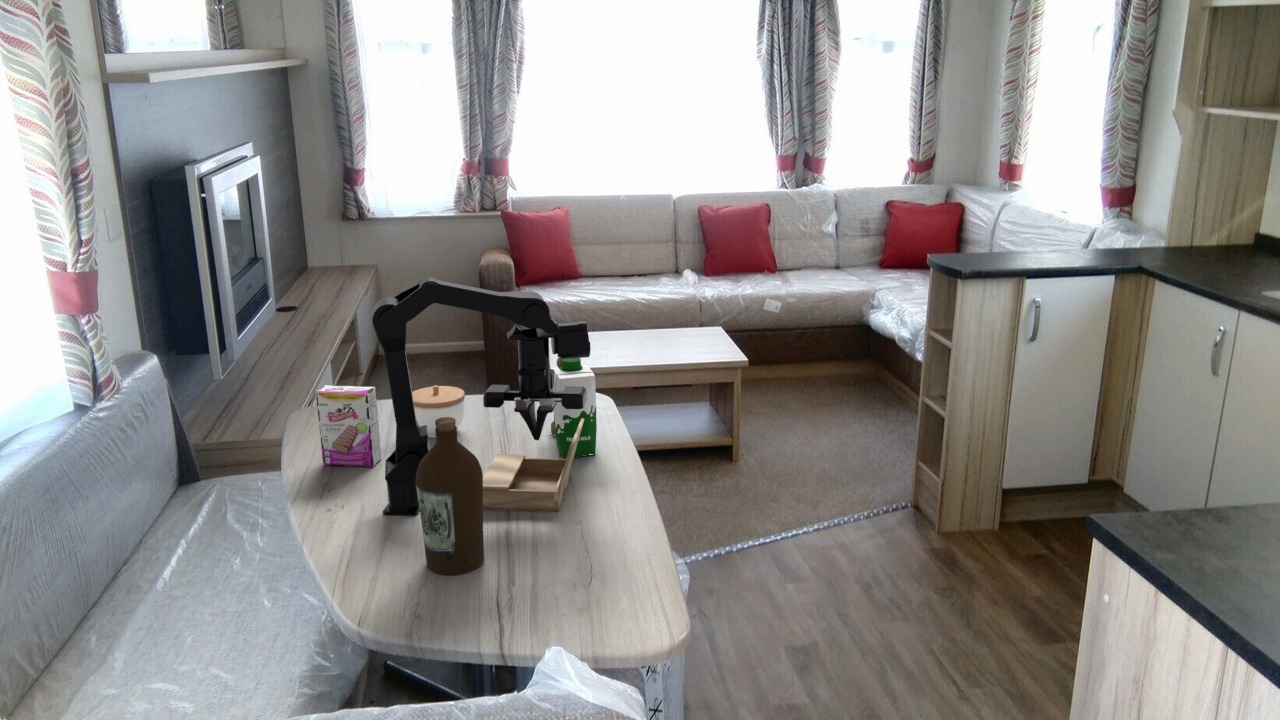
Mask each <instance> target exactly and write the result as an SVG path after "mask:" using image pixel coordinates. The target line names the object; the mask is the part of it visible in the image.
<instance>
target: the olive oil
mask: <svg viewBox="0 0 1280 720" xmlns="http://www.w3.org/2000/svg"><path fill="white" fill-rule="evenodd" d="M455 424H456V420H455V419H454V418H452V417H442V418H439V419H437V420H436V421H435V425H436V428H435V434H436V438H435V441H436V442H435V443H434V444H433V446H432V447H430V451H429V452H428V453H427V454H426V455H425V456H424V457H423V459H422V460H421V461H420V463H419V465H418V469H417V473H416V489H417V494H418V501H419V508H420V511H419V513H420V521H421V529H422V535H423V536H422V537H423V543H424V551H425V552H424V553H425V554H424V555H425V562H426V566H427V569H429V570H430V571H432V572H433V573H435V574H439V575H443V576H454V575H455V576H456V575H462V574H466V573H469V572H472V571H475V570H476V569H478V568H479V567H480V566H481V565H482V564H483V562H484V560H485V552H484V551H485V550H484V548H485V547H484V543H485V542H484V510H483V475H484V474H483V470H482V466H481V464H480V461H479V460H478V458H477V456H476V455H475V454H474V453H472V452H471V450H469V449H468V448H466V446H464V445H463V444H462V443H461V442H459V440H458V428H457V427H456V426H455Z"/></svg>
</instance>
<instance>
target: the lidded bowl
mask: <svg viewBox="0 0 1280 720" xmlns="http://www.w3.org/2000/svg"><path fill="white" fill-rule="evenodd" d="M412 395H413V402H414V408H415V415H416V419H417V421H418V424H419V426H420V427H421V426H424V425H427V431H428V438H433V439H434V438H435V439H436V434H435V428H436V425H435V421H436V420H437V419H439V418H442V417H452V418H454V419H455V420H456V424H455V426H456V427H457V429H458V428H459V426H461V424H462V422H463V419H464V416H465V409H466V407H465V406H466V403H465V398H466V393H465V391H464V390H463V389H462V388H459V387H456V386H450V385H449V386H448V385H433V386H427V387H422V388H418V389H416V390H412Z"/></svg>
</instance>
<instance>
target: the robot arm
mask: <svg viewBox="0 0 1280 720" xmlns="http://www.w3.org/2000/svg"><path fill="white" fill-rule="evenodd" d="M433 304H438V305H443V306H448V307H454V308H459V309H463V310H464V309H465V310H469V311H474V312H480V313H485V314H490V315H496V316H498V317H501V318H503V319H506V320H507V321H510V322H512V323H514V325H513V326H512V328H511V329H510V330H509V331H508V332H507V333H506V336H507V338H508V340H509V341H513V342H514V341H517V354H518V368H517V381H519V390H511V385H509V384H491V385H490V386H489V387H488V388H487V389H486V391H485V392H484V393H483V399H482V400H483V407H484V408H494V409H497V408H501V407H502V406H503V405H504V404H505V402H514V405H515V407H514V408H513V412H515V413H518V414H519V415H520V416H521V418H522V419H523V421H524V422H525V424H526V425H527V427H528V429H529V432H530V433H531V435H532V438H533V440H534V441H539V440H540V438H541V437H542V436H541V435H542V431H543V428H544V426H545V421H546V419H547V416H548V414H553V413H554V409H555V407H556V405H557V402H562V406H563V407H564V408H565V409H583V407H584V405H585V403H586V400H587V391H586V389H585V388H584V387H583V386H566V387H565V389H564V391H563V392H553V391H551V390H553V386H554V370H553V368H552V369H551V364H550V363H551V362H550V346H551V351H552V355H556V356H557V359H558V358H559V359H571V358H580V359H581V358H590V355H591V341H590V338H589V337H590V336H589V331H588V324H587V322H586V321H584V320H577V321H575V322H564V323H561V322H560V323H558V321H557V320H556V319H555V317H552V316H551V315H550V307H549V306H548V304H547V302H546V301H545V299H544V298H543V296H542V295H540V293H538V292H535V291H525V290H524V291H521V290H520V291H519V290H518V291H517V290H516V291H495V290H491V289H490V290H489V289H486V288H485V289H484V288H481V287H475V286H469V285H466V284H465V285H464V284H460V283H454V282H451V281H444V280H439V279H437V278H435V277H430V276H429V277H425V278H423V279H422V280H421V281H419V282H418V283H416V284H415V285H413V286H411V287H408V288H407V289H405V290H403V291H401V292H399V293H398V294H396V295H395V296H393V297H392V296H391V297H390V296H386V297H384V298H383V297H382V298H381V299H379V300H378V301H377V302H376V304H375V305H374V307H373V312H372V321H371V322H372V326H373V328H374V331H375V334H376V336H377V340H378V343H379V344H380V347H381V349H382V351H383V354H384V358H385V363H386V364H385V365H386V371H387V376H388V383H389V387H390V395H391V401H392V408H393V413H394V419H395V425H396V426H395V427H396V428H395V429H396V430H395V450H394V451H393V452H392V453H391V454H390V455H389V456H388V457H387V458H386V459H385V469H384V480H385V481H386V488H387V501H388V503H387V504H386V506H385V508H384V509H382V514H383V515H409V516H411V515H412V516H414V515H418V513H420V508H419V501H418V494H417V489H416V473H417V469H418V465H419V463H420V461H421V460H422V459H423V457H424V456H425V455H426V454H427V453H428V452H429V451H430V449H431V442H430V441H429V437H428V431H427V425H424V426H421V427H420V426H419V424H418V421H417V419H416V415H415V408H414V402H413V395H412V392H413V389H412V383H411V376H410V371H409V364H408V360H407V359H408V358H407V353H406V352H407V351H406V341H407V323H409V322H410V321H412V320H413V319H414V318H416V317H417V316H418V315H420V314H421V313H422V312H423V311H424V310H426V309H427V308H428V307H431V305H433ZM518 325H519V326H522V327H523V328H522V327H521V328H520V327H519V326H518ZM537 329H540V330H541V331H538V330H537ZM536 402H538V404H539V406H538V407H537V410H536Z"/></svg>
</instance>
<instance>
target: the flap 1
mask: <svg viewBox="0 0 1280 720" xmlns="http://www.w3.org/2000/svg"><path fill="white" fill-rule="evenodd" d="M525 458H526V454H510V453H509V454H508V453H507V454H505V453H503V454H502V453H500V454H497V453H496V454H495V455H494V458H492V460H491V462H490V464H489V466H488V467H487V469H486V470H485V472H484V474H483V489H489V490H509V488H510V486H511V484H512V482H513V480H514V478H515V476H516V475H517V473H518V471H519V469H520V467H521V465H522V463H523V461H524V459H525Z"/></svg>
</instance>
